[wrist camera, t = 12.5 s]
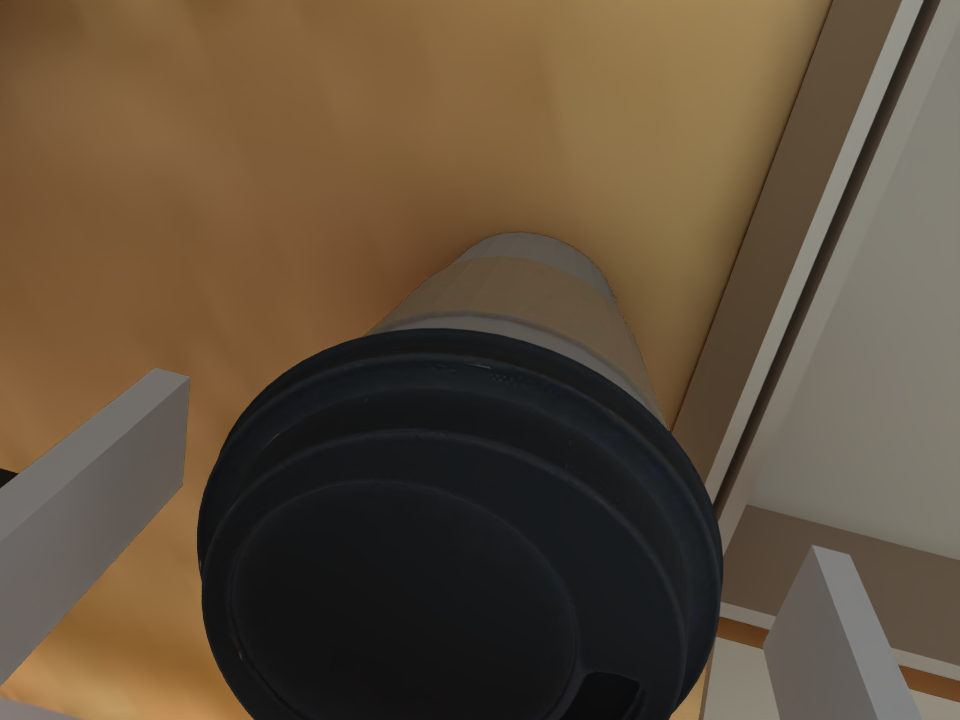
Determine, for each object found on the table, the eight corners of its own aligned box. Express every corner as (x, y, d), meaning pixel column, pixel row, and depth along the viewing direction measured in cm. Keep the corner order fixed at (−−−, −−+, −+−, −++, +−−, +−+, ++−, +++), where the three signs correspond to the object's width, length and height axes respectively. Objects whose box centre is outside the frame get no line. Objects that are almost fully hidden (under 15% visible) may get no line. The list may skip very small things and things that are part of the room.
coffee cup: (669, 439, 27) (732, 867, 14) (402, 443, 29) (224, 830, 15) (668, 160, 24) (753, 371, 10) (362, 182, 25) (82, 390, 12)
